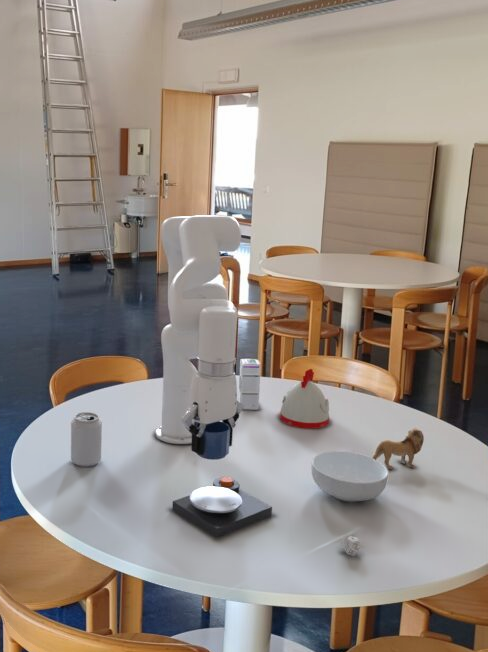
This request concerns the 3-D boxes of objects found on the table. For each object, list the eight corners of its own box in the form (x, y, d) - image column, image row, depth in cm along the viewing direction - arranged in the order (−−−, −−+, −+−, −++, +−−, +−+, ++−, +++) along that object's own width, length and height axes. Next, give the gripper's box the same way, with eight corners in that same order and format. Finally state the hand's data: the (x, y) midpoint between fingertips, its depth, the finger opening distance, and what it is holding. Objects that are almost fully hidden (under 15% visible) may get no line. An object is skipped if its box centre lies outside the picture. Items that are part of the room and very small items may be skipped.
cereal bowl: (344, 518, 152) (347, 487, 151) (294, 485, 167) (296, 457, 165) (402, 502, 160) (405, 473, 158) (349, 473, 174) (351, 446, 173)
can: (96, 469, 172) (97, 422, 170) (66, 466, 173) (67, 419, 171) (104, 457, 179) (105, 412, 177) (75, 453, 181) (76, 409, 178)
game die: (341, 555, 138) (342, 541, 137) (343, 546, 141) (344, 532, 141) (359, 559, 137) (361, 545, 136) (361, 550, 140) (362, 536, 139)
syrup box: (258, 410, 216) (262, 364, 213) (239, 409, 216) (242, 363, 213) (256, 403, 222) (259, 358, 219) (237, 403, 222) (239, 358, 219)
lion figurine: (411, 457, 184) (415, 425, 183) (426, 466, 180) (430, 432, 178) (364, 464, 179) (368, 430, 178) (378, 473, 174) (381, 438, 173)
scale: (225, 489, 164) (226, 475, 163) (272, 515, 153) (273, 500, 152) (171, 509, 154) (171, 494, 153) (216, 538, 143) (217, 522, 142)
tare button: (226, 481, 161) (226, 475, 161) (235, 485, 159) (235, 480, 159) (217, 484, 159) (217, 478, 159) (226, 488, 157) (226, 483, 157)
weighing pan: (216, 484, 159) (216, 482, 158) (252, 503, 150) (252, 501, 150) (179, 497, 152) (179, 495, 152) (214, 518, 143) (214, 516, 143)
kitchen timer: (334, 417, 211) (339, 369, 208) (319, 432, 200) (323, 380, 197) (290, 408, 219) (293, 361, 215) (272, 421, 207) (276, 371, 204)
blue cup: (212, 444, 154) (213, 417, 153) (235, 455, 149) (237, 428, 147) (187, 451, 150) (188, 424, 149) (210, 463, 144) (211, 435, 143)
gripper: (233, 356, 154) (229, 434, 157) (171, 369, 143) (168, 451, 147) (259, 365, 148) (253, 445, 151) (195, 378, 137) (192, 464, 141)
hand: (211, 447), depth 149 cm, fingers closed on blue cup, 7 cm apart
